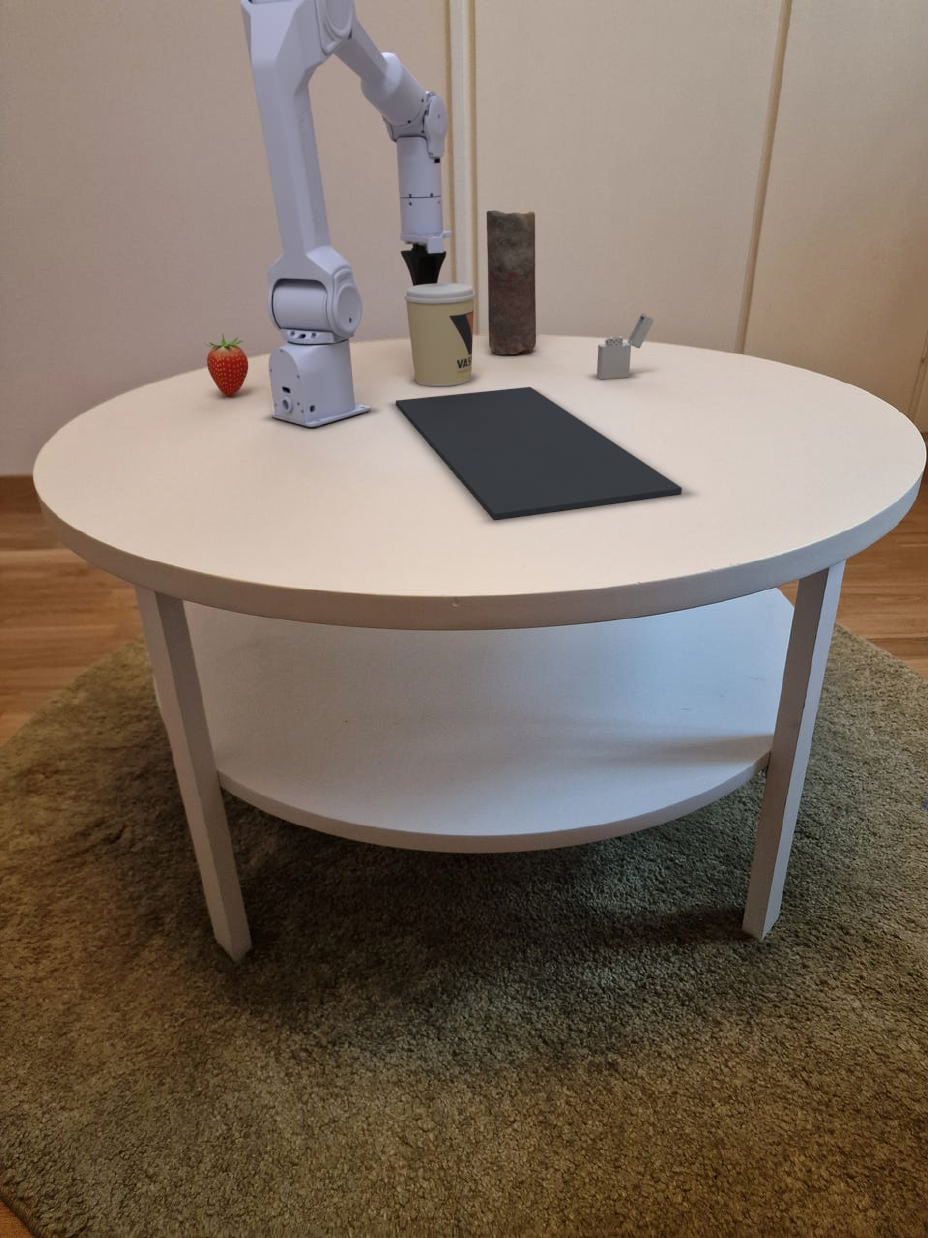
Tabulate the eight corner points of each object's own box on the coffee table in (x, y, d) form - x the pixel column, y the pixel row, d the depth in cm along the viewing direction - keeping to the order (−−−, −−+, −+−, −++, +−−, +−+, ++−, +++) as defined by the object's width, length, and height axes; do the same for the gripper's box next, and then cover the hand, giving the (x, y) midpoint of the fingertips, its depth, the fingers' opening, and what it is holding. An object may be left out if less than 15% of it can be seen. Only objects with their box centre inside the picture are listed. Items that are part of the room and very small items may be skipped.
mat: (681, 493, 78) (682, 487, 77) (494, 520, 74) (494, 513, 73) (530, 391, 111) (530, 386, 111) (395, 405, 107) (395, 400, 107)
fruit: (219, 390, 116) (209, 329, 112) (256, 390, 116) (247, 329, 112) (207, 401, 111) (196, 338, 107) (246, 400, 111) (236, 337, 107)
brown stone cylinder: (484, 347, 136) (482, 208, 126) (529, 344, 137) (530, 206, 127) (494, 357, 130) (492, 212, 120) (540, 354, 131) (543, 209, 121)
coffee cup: (469, 388, 113) (467, 293, 107) (401, 387, 115) (396, 292, 109) (482, 372, 121) (480, 282, 115) (418, 371, 123) (414, 282, 117)
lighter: (600, 379, 116) (603, 317, 112) (596, 376, 117) (599, 315, 113) (650, 375, 117) (654, 314, 113) (645, 372, 118) (650, 312, 114)
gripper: (464, 197, 109) (467, 309, 115) (435, 193, 121) (439, 294, 128) (411, 200, 107) (416, 313, 114) (387, 195, 119) (393, 297, 126)
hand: (425, 303), depth 121 cm, fingers closed
